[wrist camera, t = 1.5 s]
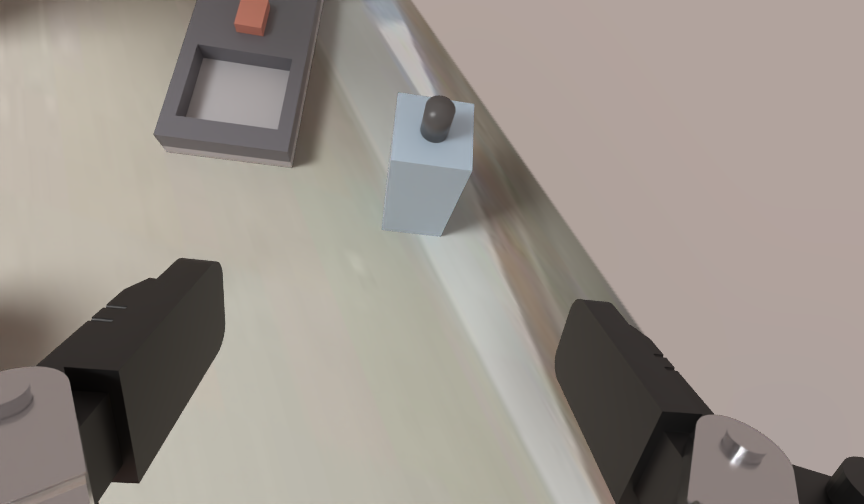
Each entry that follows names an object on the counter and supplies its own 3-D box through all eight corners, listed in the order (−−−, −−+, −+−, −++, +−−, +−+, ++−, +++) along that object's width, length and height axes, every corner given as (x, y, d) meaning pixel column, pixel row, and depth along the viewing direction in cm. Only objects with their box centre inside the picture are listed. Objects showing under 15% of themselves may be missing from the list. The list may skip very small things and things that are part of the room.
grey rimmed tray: (166, 151, 32) (148, 127, 30) (232, -65, 40) (223, -100, 37) (291, 167, 33) (285, 145, 31) (332, -46, 41) (330, -78, 39)
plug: (381, 229, 33) (393, 138, 22) (387, 177, 35) (400, 67, 23) (440, 236, 34) (481, 151, 22) (443, 184, 35) (483, 80, 24)
